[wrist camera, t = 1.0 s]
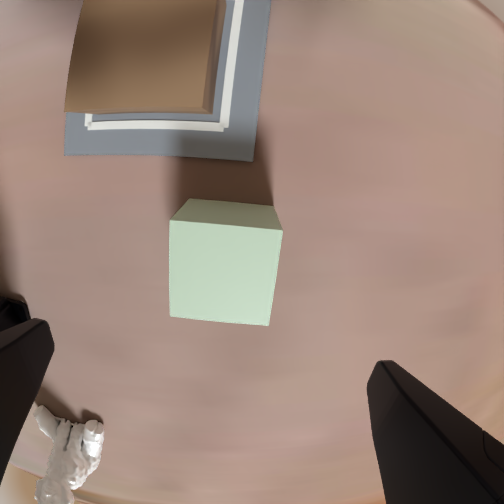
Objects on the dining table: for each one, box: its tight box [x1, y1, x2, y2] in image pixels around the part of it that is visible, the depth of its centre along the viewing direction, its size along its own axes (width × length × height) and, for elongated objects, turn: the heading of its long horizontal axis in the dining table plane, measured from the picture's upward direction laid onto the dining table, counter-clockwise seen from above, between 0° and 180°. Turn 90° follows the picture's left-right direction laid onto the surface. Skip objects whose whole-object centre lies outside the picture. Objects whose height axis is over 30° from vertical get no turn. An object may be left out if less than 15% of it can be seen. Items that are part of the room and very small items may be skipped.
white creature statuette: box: [33, 405, 104, 504], centre depth 21 cm, size 10×9×12 cm
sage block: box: [169, 198, 283, 326], centre depth 17 cm, size 5×5×5 cm
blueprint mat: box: [64, 0, 271, 162], centre depth 15 cm, size 12×12×1 cm
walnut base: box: [64, 0, 227, 115], centre depth 12 cm, size 7×7×4 cm
